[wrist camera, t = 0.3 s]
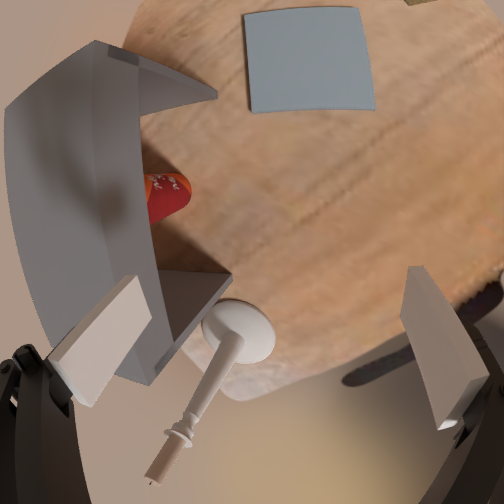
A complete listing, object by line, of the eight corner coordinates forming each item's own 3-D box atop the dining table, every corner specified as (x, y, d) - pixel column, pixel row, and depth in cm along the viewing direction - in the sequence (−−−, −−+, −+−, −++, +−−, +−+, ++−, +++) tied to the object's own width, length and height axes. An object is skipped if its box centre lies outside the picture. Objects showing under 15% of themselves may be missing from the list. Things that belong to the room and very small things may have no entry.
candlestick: (235, 370, 49) (164, 505, 22) (190, 320, 48) (83, 446, 21) (291, 344, 44) (236, 516, 17) (241, 286, 43) (127, 447, 16)
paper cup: (197, 164, 38) (136, 171, 26) (199, 216, 41) (143, 244, 28) (153, 168, 40) (88, 178, 28) (156, 215, 43) (95, 240, 30)
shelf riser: (128, 113, 38) (4, 108, 17) (217, 90, 34) (95, 39, 13) (148, 275, 47) (51, 346, 26) (232, 281, 43) (148, 386, 21)
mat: (246, 17, 29) (244, 15, 28) (357, 10, 25) (358, 7, 24) (253, 113, 34) (251, 112, 33) (374, 110, 30) (375, 109, 29)
